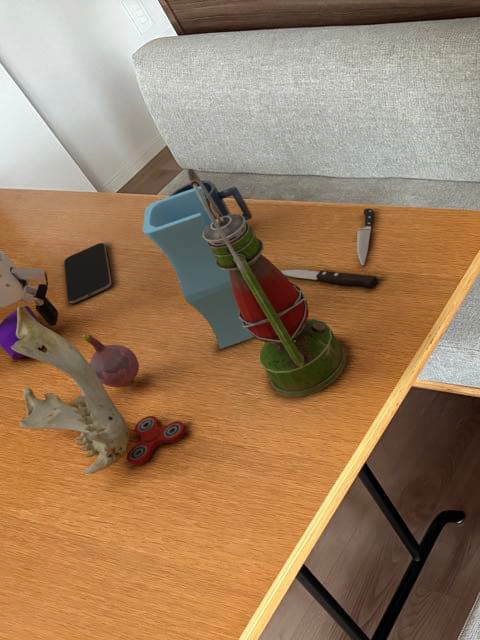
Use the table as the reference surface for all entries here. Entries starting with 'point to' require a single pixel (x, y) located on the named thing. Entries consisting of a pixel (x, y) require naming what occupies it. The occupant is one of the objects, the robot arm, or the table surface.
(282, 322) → the lantern
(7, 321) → the purple eggplant
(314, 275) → the kitchen knife
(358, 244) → the knife
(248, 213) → the mug
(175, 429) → the fidget spinner
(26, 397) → the jawbone
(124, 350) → the vegetable
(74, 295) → the smartphone
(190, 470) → the table surface
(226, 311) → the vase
